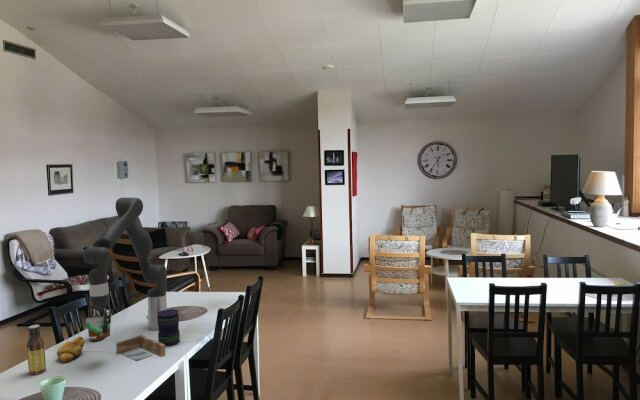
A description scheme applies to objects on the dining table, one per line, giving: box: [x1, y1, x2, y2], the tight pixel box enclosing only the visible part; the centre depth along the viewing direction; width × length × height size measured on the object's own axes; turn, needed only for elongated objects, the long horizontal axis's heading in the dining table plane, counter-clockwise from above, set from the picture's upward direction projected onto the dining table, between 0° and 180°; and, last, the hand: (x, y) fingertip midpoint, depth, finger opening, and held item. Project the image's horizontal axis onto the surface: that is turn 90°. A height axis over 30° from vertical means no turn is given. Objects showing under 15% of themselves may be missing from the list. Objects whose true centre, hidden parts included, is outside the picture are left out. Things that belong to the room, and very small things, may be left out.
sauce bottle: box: [26, 324, 47, 376], centre depth 194 cm, size 7×6×20 cm
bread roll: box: [56, 336, 85, 363], centre depth 209 cm, size 13×10×8 cm
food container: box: [85, 313, 113, 341], centre depth 201 cm, size 12×6×10 cm, turn 163°
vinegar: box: [87, 304, 104, 343], centre depth 231 cm, size 7×7×20 cm
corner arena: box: [115, 334, 166, 362], centre depth 211 cm, size 20×12×5 cm, turn 51°
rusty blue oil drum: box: [157, 308, 181, 348], centre depth 225 cm, size 10×10×15 cm
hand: (101, 331), depth 202 cm, fingers closed on food container, 6 cm apart
